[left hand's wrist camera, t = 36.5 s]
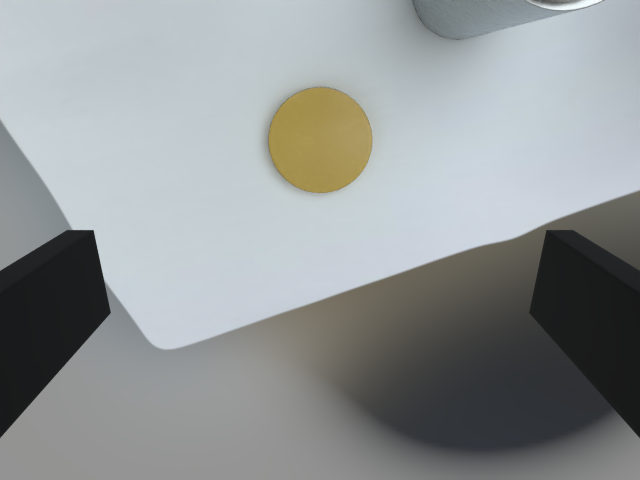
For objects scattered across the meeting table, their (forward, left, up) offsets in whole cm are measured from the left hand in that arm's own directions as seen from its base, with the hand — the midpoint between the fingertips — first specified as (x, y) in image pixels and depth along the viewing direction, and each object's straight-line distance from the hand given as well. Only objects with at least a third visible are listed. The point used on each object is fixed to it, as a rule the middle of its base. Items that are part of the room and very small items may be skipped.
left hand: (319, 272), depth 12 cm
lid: (0, 0, -28) cm, 28 cm away
